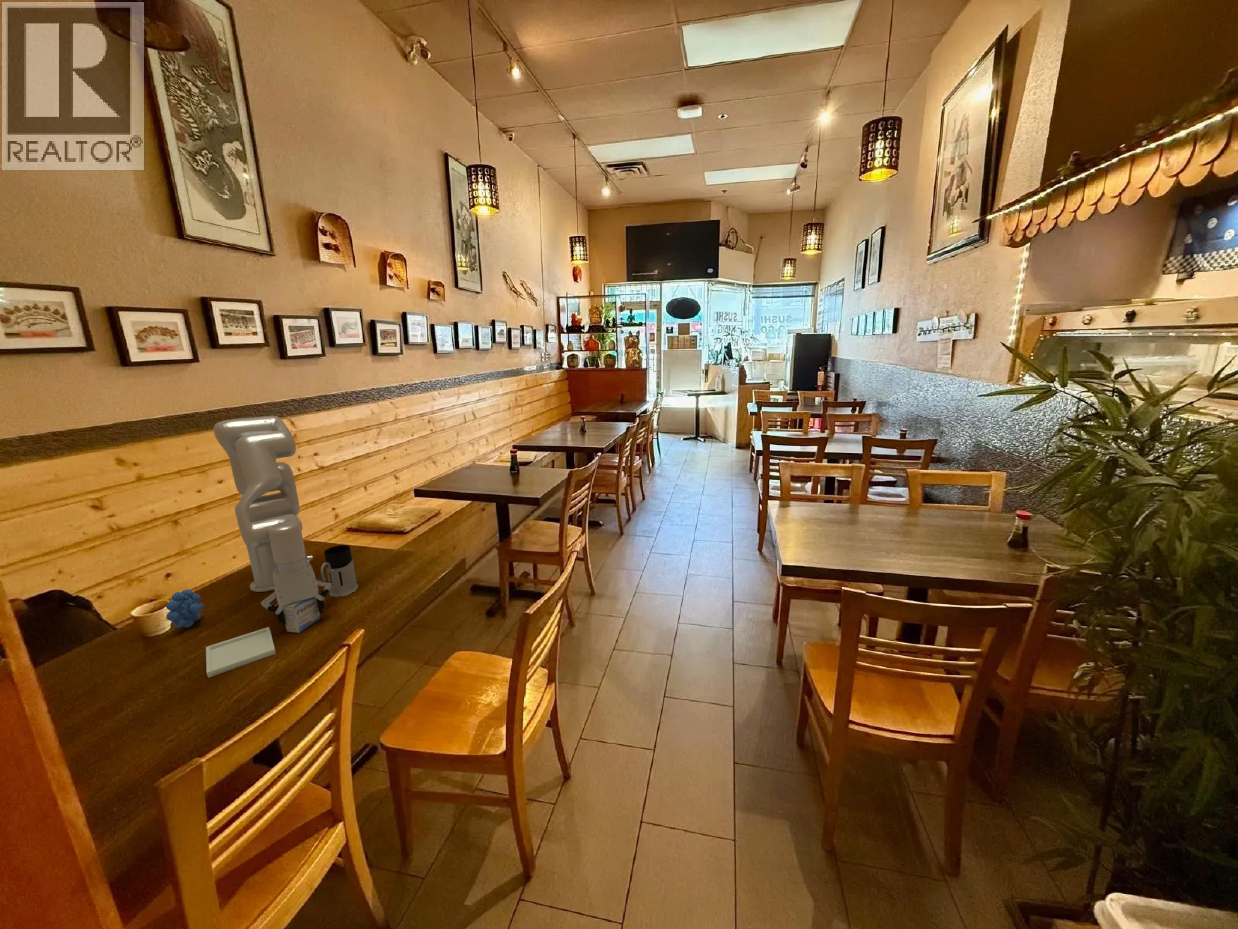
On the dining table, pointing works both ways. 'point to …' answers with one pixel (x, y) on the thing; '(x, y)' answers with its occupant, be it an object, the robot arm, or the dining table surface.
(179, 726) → the dining table surface
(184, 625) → the grapes
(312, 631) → the dining table surface
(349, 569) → the glass holder
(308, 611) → the medicine box
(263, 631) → the tray
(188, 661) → the dining table surface
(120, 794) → the dining table surface
